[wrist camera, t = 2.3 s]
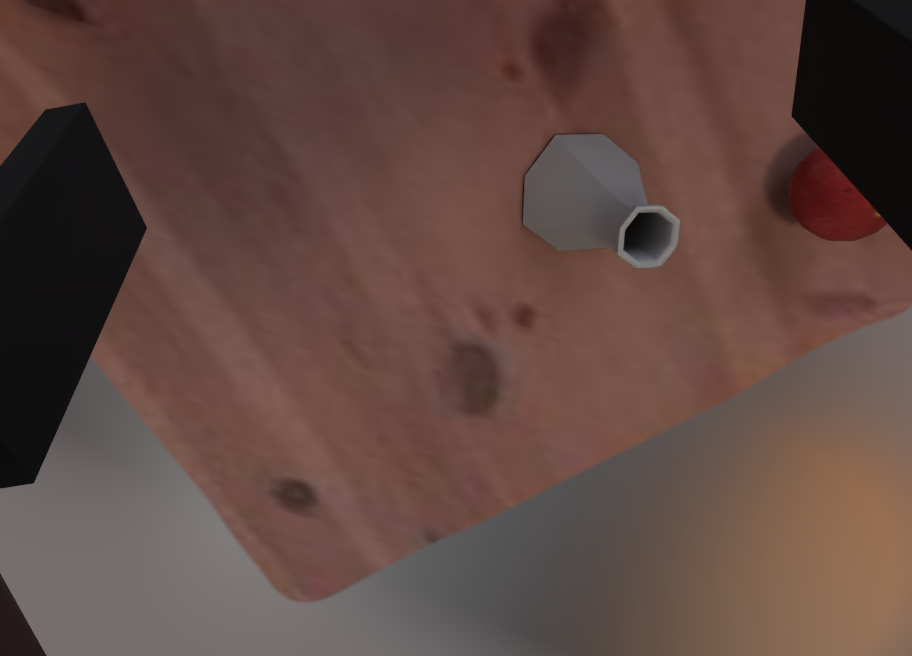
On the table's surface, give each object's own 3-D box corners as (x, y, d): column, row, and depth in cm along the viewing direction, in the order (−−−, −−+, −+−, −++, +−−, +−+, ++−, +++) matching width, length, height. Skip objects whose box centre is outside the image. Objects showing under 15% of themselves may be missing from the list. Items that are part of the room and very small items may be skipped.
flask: (608, 264, 49) (682, 323, 40) (502, 233, 47) (554, 288, 38) (655, 151, 47) (743, 186, 37) (545, 113, 44) (611, 141, 35)
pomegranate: (820, 110, 48) (916, 129, 40) (863, 178, 50) (961, 207, 43) (746, 177, 48) (827, 207, 41) (792, 241, 51) (876, 280, 43)
